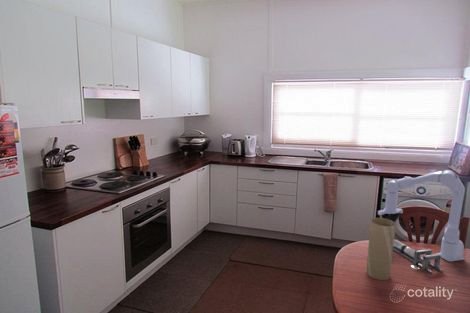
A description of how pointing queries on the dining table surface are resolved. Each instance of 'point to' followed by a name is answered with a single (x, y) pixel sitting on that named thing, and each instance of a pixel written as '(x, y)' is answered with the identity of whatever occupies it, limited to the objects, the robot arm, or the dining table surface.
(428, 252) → the grey metal angular piece
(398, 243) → the grey metal elongated piece
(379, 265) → the tube
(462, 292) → the dining table surface
